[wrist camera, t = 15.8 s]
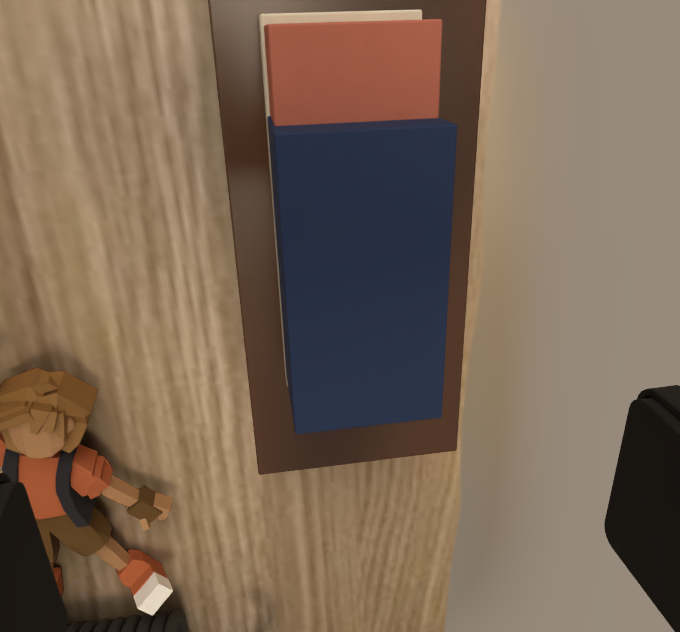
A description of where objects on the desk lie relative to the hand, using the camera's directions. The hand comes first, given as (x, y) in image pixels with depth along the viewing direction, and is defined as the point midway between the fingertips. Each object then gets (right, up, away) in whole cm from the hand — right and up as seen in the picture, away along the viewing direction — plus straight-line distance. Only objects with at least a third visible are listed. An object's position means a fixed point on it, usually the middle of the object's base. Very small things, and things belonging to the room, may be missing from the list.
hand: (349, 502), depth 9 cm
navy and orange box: (0, +7, +13) cm, 14 cm away
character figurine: (-16, -6, +25) cm, 30 cm away
